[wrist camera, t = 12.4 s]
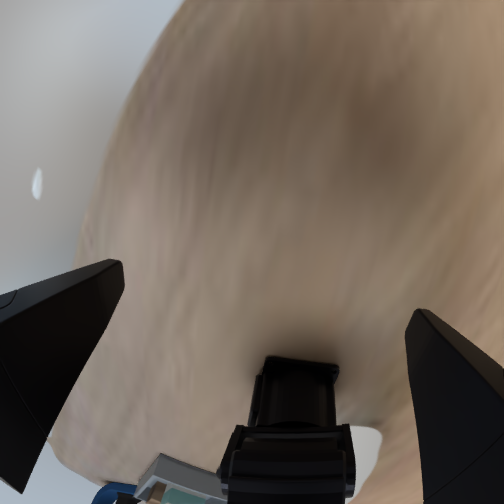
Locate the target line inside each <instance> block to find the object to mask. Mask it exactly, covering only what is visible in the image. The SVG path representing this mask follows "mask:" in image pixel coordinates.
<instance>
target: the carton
mask: <svg viewBox="0 0 504 504" xmlns="http://www.w3.org/2000/svg"><path fill="white" fill-rule="evenodd" d="M205 500H206V495H203V494H200V493H197V492H194V491H191V490H188V489H185V488H183V487H180V486H177V485H174V484H172V483H169V482H168V483H167V486H166V489H165V492H164V494H163V497H162V500H161V503H160V504H205Z"/></svg>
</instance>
